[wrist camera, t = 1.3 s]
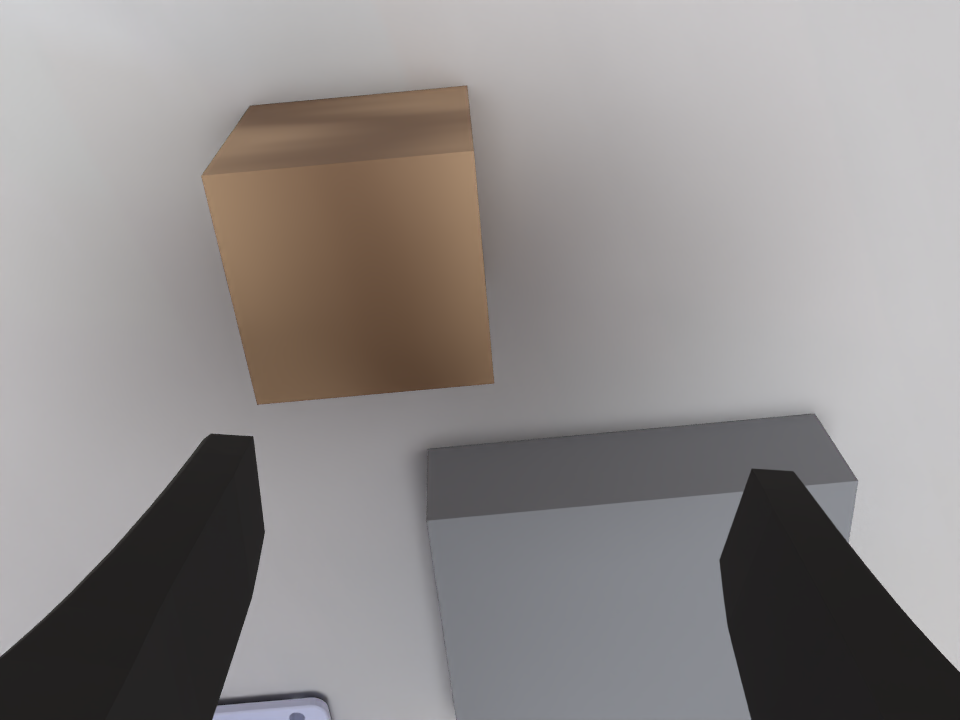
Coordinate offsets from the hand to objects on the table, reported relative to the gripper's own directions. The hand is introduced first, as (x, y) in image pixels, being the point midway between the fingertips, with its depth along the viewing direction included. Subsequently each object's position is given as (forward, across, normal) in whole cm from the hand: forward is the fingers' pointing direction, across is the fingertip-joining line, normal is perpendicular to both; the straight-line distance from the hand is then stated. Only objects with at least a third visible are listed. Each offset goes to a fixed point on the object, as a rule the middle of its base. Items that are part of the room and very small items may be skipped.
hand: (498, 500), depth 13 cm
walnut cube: (+11, +3, +1) cm, 11 cm away
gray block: (+10, -5, +13) cm, 17 cm away
